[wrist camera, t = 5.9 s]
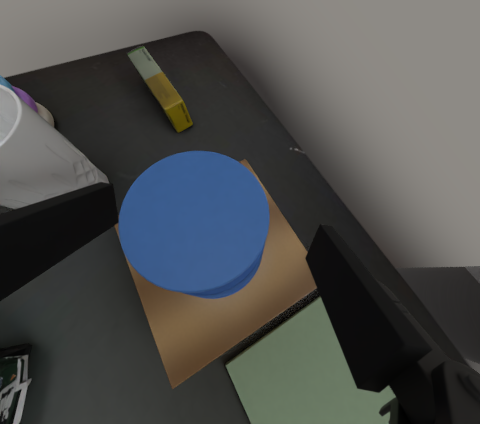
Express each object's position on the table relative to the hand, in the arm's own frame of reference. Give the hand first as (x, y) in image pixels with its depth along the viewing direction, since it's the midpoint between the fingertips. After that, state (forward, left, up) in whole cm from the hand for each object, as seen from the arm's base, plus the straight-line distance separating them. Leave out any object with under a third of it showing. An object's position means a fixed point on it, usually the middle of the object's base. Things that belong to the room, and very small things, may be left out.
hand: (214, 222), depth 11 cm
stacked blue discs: (-1, +1, -5) cm, 5 cm away
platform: (-1, +1, -9) cm, 9 cm away
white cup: (+13, +12, -9) cm, 20 cm away
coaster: (-16, -1, -9) cm, 18 cm away
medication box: (+22, -2, -9) cm, 24 cm away
